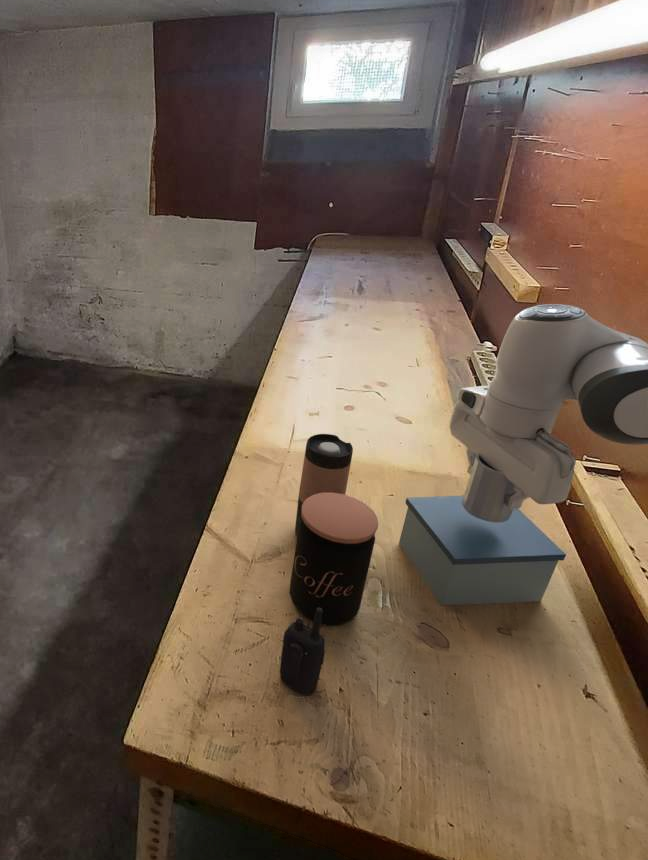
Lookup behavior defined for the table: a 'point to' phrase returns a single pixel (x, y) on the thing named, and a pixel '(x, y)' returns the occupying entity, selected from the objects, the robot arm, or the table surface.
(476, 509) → the grey cup
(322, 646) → the two-way radio
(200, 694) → the table surface
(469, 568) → the storage container
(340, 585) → the coffee jar
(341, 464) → the travel mug
